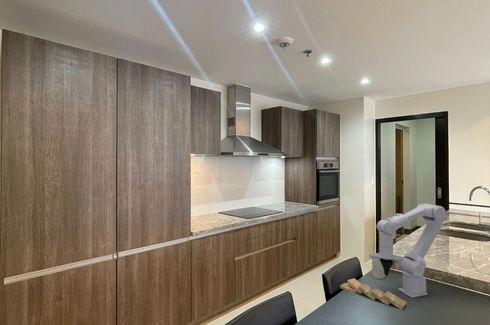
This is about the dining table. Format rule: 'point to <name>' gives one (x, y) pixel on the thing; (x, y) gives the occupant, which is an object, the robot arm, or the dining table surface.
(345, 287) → the domino
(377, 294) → the domino
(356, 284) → the domino
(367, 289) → the domino
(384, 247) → the robot arm
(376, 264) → the skincare box
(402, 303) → the domino
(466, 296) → the dining table surface
